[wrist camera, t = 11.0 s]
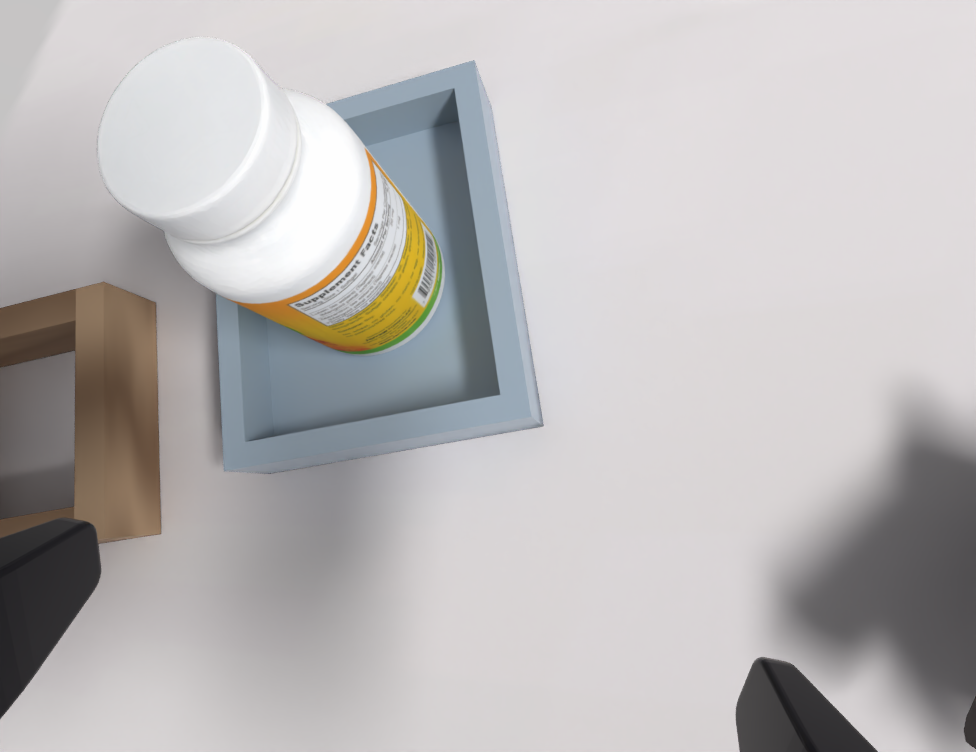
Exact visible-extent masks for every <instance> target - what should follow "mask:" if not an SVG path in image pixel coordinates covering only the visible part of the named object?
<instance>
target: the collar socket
mask: <svg viewBox="0 0 976 752" xmlns="http://www.w3.org/2000/svg"><path fill="white" fill-rule="evenodd" d="M74 350H75V480H74V507H69V508H63V509H57V510H52V511H46V512H40V513H34V514H29V515H23V516H17V517H11V518H5V519H0V538H1V537H4V536H7V535H10V534H13V533H16V532H19V531H22V530H25V529H28V528H31V527H34V526H37V525H40V524H42V523H45V522H48V521H51V520H54V519H57V518H63V517H64V518H72V519H77V520H82V521H87V522H90V523H92V524H93V525H94V527H95V528H96V531H97V537H98V544H100V543H107V542H113V541H119V540H126V539H132V538H138V537H145V536H151V535H157V534H161V515H160V472H159V428H158V385H157V342H156V303H155V302H153V301H150V300H148V299H145V298H143V297H140V296H138V295H135V294H133V293H130V292H128V291H125V290H123V289H120V288H118V287H115V286H113V285H110V284H108V283H105V282H101V283H97V284H93V285H89V286H85V287H82V288H78V289H74V290H70V291H66V292H62V293H58V294H54V295H50V296H46V297H42V298H38V299H34V300H31V301H27V302H23V303H19V304H15V305H11V306H7V307H3V308H0V367H5V366H9V365H13V364H18V363H22V362H26V361H31V360H35V359H39V358H43V357H48V356H52V355H56V354H61V353H65V352H69V351H74Z"/></svg>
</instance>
